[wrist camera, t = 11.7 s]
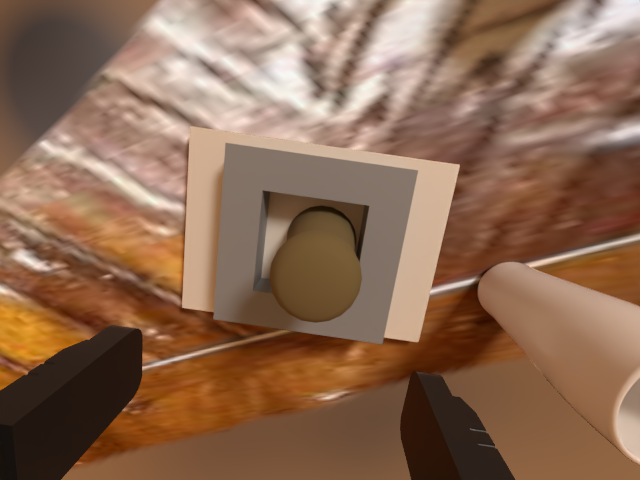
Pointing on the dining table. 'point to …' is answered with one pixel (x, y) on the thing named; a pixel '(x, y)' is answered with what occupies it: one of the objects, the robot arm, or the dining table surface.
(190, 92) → the dining table surface
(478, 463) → the robot arm
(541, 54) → the dining table surface
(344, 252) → the cork
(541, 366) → the drinking glass
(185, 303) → the socket board
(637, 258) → the dining table surface
